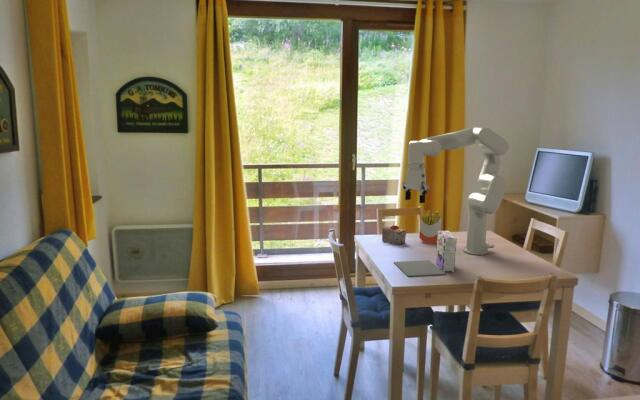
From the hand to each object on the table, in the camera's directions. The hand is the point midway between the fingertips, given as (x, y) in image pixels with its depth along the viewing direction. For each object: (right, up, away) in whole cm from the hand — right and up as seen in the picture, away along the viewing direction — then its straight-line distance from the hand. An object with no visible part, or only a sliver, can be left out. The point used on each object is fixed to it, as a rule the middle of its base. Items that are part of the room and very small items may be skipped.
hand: (414, 201), depth 236 cm
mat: (0, -32, -10) cm, 33 cm away
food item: (-5, -24, +35) cm, 42 cm away
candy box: (+13, -32, -8) cm, 35 cm away
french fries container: (+15, -24, +35) cm, 45 cm away
